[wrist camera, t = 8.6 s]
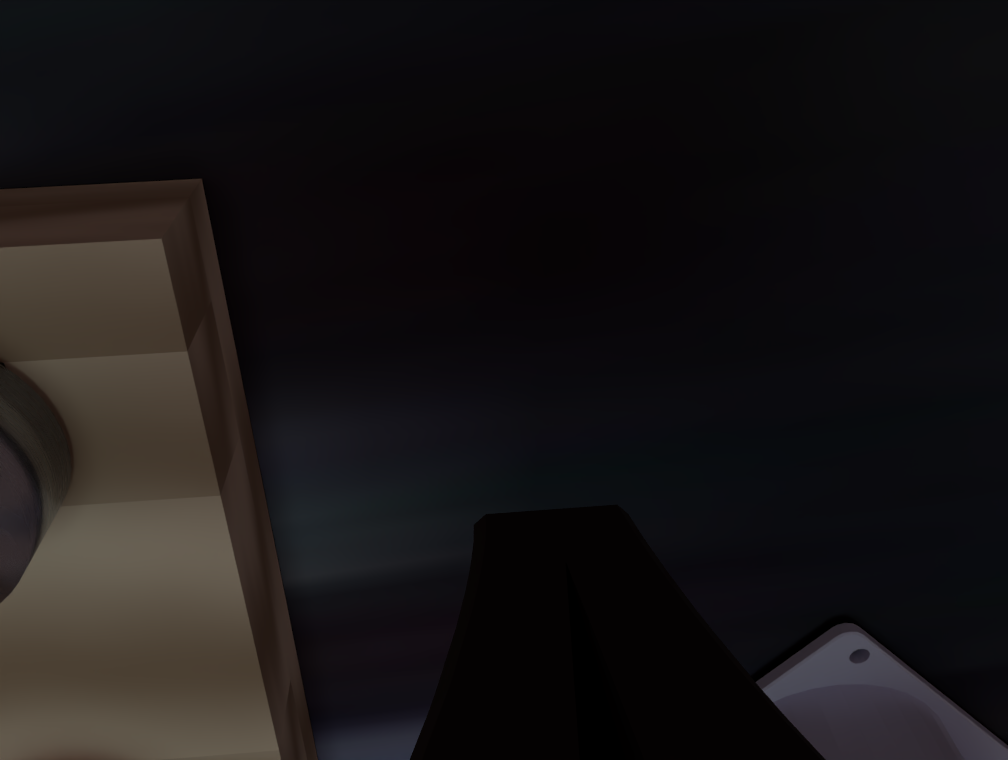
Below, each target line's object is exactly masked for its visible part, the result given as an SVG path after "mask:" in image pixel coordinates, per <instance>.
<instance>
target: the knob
mask: <svg viewBox="0 0 1008 760" xmlns="http://www.w3.org/2000/svg"><path fill="white" fill-rule="evenodd" d="M71 470H72V468H71V455H70V451H69V447H68V443H67V440H66V437H65V435H64V432H63V430H62V427H61V426H60V424H59V422H58V420H57V419H56V417H55V415H54V414H53V412H52V411H51V410H50V408H49V407H48V406H47V404H46V403H45V402H44V400H43V399H42V398H41V397H40V396H39V395H38V394H37V393H36V392H35V391H34V390H33V389H32V388H31V387H30V386H29V385H28V384H27V383H25V382H24V381H23V380H22V379H21V378H19V377H18V376H17V375H15V374H14V373H13V372H11V371H10V370H8V369H7V368H6V367H5V365H4V363H0V603H1V602H2V601H3V600H4V599H5V598H6V597H7V596H8V595H9V594H11V592H12V591H13V590H14V588H15V587H16V586H17V584H18V583H19V581H20V579H21V578H22V576H23V574H24V572H25V570H26V569H27V567H28V565H29V563H30V561H31V560H32V558H33V556H34V554H35V552H36V550H37V549H38V547H39V545H40V543H41V541H42V540H43V538H44V536H45V534H46V532H47V531H48V529H49V527H50V525H51V523H52V522H53V520H54V518H55V516H56V514H57V512H58V511H59V509H60V507H61V505H62V503H63V501H64V499H65V497H66V495H67V492H68V488H69V485H70V480H71Z"/></svg>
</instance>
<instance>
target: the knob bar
mask: <svg viewBox="0 0 1008 760" xmlns="http://www.w3.org/2000/svg"><path fill="white" fill-rule="evenodd" d="M0 363H4V365H5V367H6V368H7V369H8V370H10V371H11V372H13V373H14V374H15V375H17V376H18V377H19V378H21V379H22V380H23V381H24V382H25V383H27V384H28V385H29V386H30V387H31V388H32V389H33V390H34V391H35V392H36V393H37V394H38V395H39V396H40V397H41V398H42V399H43V400H44V402H45V403H46V404H47V406H48V407H49V408H50V410H51V411H52V412H53V414H54V415H55V417H56V419H57V420H58V422H59V424H60V426H61V427H62V430H63V432H64V435H65V437H66V440H67V443H68V447H69V451H70V455H71V468H72V470H71V480H70V485H69V488H68V492H67V495H66V497H65V499H64V501H63V503H62V505H61V507H60V509H59V511H58V512H57V514H56V516H55V518H54V520H53V522H52V523H51V525H50V527H49V529H48V531H47V532H46V534H45V536H44V538H43V540H42V541H41V543H40V545H39V547H38V549H37V550H36V552H35V554H34V556H33V558H32V560H31V561H30V563H29V565H28V567H27V569H26V570H25V572H24V574H23V576H22V578H21V579H20V581H19V583H18V584H17V586H16V587H15V588H14V590H13V591H12V592H11V594H9V595H8V596H7V597H6V598H5V599H4V600H3V601H2V602H1V603H0V760H318V758H317V753H316V748H315V743H314V738H313V733H312V728H311V723H310V718H309V713H308V708H307V703H306V698H305V693H304V688H303V683H302V678H301V673H300V668H299V663H298V658H297V653H296V648H295V643H294V638H293V633H292V628H291V623H290V618H289V613H288V608H287V603H286V598H285V593H284V588H283V583H282V578H281V573H280V568H279V563H278V558H277V553H276V548H275V543H274V538H273V533H272V528H271V523H270V518H269V513H268V508H267V503H266V498H265V493H264V488H263V483H262V478H261V473H260V468H259V463H258V458H257V453H256V448H255V443H254V438H253V433H252V428H251V423H250V418H249V413H248V408H247V403H246V398H245V393H244V388H243V383H242V378H241V373H240V368H239V363H238V358H237V353H236V348H235V343H234V338H233V333H232V328H231V323H230V318H229V313H228V308H227V303H226V298H225V293H224V288H223V283H222V278H221V273H220V268H219V263H218V258H217V253H216V248H215V243H214V238H213V233H212V228H211V223H210V218H209V213H208V208H207V203H206V198H205V193H204V188H203V182H202V179H187V180H168V181H149V182H130V183H111V184H92V185H73V186H54V187H35V188H16V189H0Z"/></svg>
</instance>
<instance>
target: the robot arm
mask: <svg viewBox="0 0 1008 760" xmlns="http://www.w3.org/2000/svg"><path fill="white" fill-rule="evenodd" d="M858 649H859V650H858ZM856 650H857V651H856ZM853 651H855V652H853ZM410 760H1008V745H1006V744H1005V743H1004V742H1003V741H1001V740H1000V739H999V738H998V737H996V736H995V735H994V734H993V733H991V732H990V731H989V730H988V729H986V728H985V727H984V726H983V725H981V724H980V723H979V722H978V721H976V720H975V719H974V718H973V717H971V716H970V715H969V714H968V713H966V712H965V711H964V710H963V709H961V708H960V707H959V706H958V705H956V704H955V703H954V702H953V701H951V700H950V699H949V698H948V697H946V696H945V695H944V694H943V693H941V692H940V691H939V690H938V689H936V688H935V687H934V686H933V685H931V684H930V683H929V682H928V681H926V680H925V679H924V678H923V677H921V676H920V675H919V674H918V673H916V672H915V671H914V670H913V669H911V668H910V667H909V666H908V665H906V664H905V663H904V662H903V661H901V660H900V659H899V658H898V657H896V656H895V655H894V654H893V653H891V652H890V651H889V650H888V649H887V648H885V647H884V646H883V645H882V644H880V643H879V642H878V641H877V640H875V639H874V638H873V637H872V636H870V635H869V634H868V633H867V632H865V631H864V630H863V629H862V628H860V627H859V626H857V625H855V624H853V623H842V624H838V625H836V626H834V627H832V628H831V629H829V630H828V631H826V632H825V633H824V634H822V635H821V636H819V637H818V638H817V639H815V640H814V641H812V642H811V643H810V644H808V645H807V646H805V647H804V648H803V649H801V650H800V651H798V652H797V653H796V654H794V655H793V656H791V657H790V658H789V659H787V660H786V661H785V662H783V663H782V664H780V665H779V666H778V667H776V668H775V669H773V670H772V671H771V672H769V673H768V674H766V675H765V676H764V677H762V678H761V679H759V680H758V681H757V682H755V681H754V680H753V679H752V677H751V676H750V675H749V674H748V673H747V671H746V670H745V669H744V668H743V667H742V665H741V664H740V663H739V662H738V661H737V659H736V658H735V657H734V656H733V655H732V653H731V652H730V651H729V650H728V649H727V647H726V646H725V645H724V644H723V643H722V641H721V640H720V639H719V638H718V637H717V635H716V634H715V633H714V632H713V631H712V629H711V628H710V627H709V626H708V624H707V623H706V622H705V621H704V619H703V618H702V617H701V615H700V614H699V613H698V612H697V610H696V609H695V608H694V607H693V605H692V604H691V603H690V601H689V600H688V599H687V597H686V596H685V595H684V593H683V592H682V591H681V589H680V588H679V587H678V585H677V584H676V583H675V581H674V580H673V579H672V577H671V576H670V575H669V573H668V572H667V571H666V569H665V568H664V566H663V565H662V564H661V562H660V561H659V559H658V558H657V557H656V555H655V554H654V552H653V551H652V549H651V548H650V547H649V545H648V544H647V542H646V541H645V539H644V538H643V536H642V535H641V533H640V532H639V530H638V529H637V527H636V526H635V524H634V523H633V521H632V519H631V518H630V516H629V515H628V514H627V513H626V512H625V511H624V510H623V509H621V508H620V507H619V506H618V505H607V506H594V507H580V508H566V509H553V510H539V511H525V512H511V513H498V514H486V515H485V516H483V517H482V518H481V519H480V520H479V521H478V522H477V523H476V524H475V525H474V544H473V553H472V560H471V567H470V572H469V577H468V582H467V587H466V591H465V595H464V599H463V603H462V607H461V611H460V615H459V619H458V623H457V627H456V630H455V633H454V636H453V639H452V643H451V646H450V649H449V652H448V655H447V658H446V662H445V665H444V668H443V671H442V674H441V677H440V680H439V684H438V687H437V690H436V693H435V696H434V699H433V701H432V704H431V707H430V710H429V712H428V715H427V718H426V720H425V723H424V725H423V728H422V730H421V733H420V735H419V738H418V740H417V743H416V745H415V748H414V750H413V753H412V755H411V758H410Z"/></svg>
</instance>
